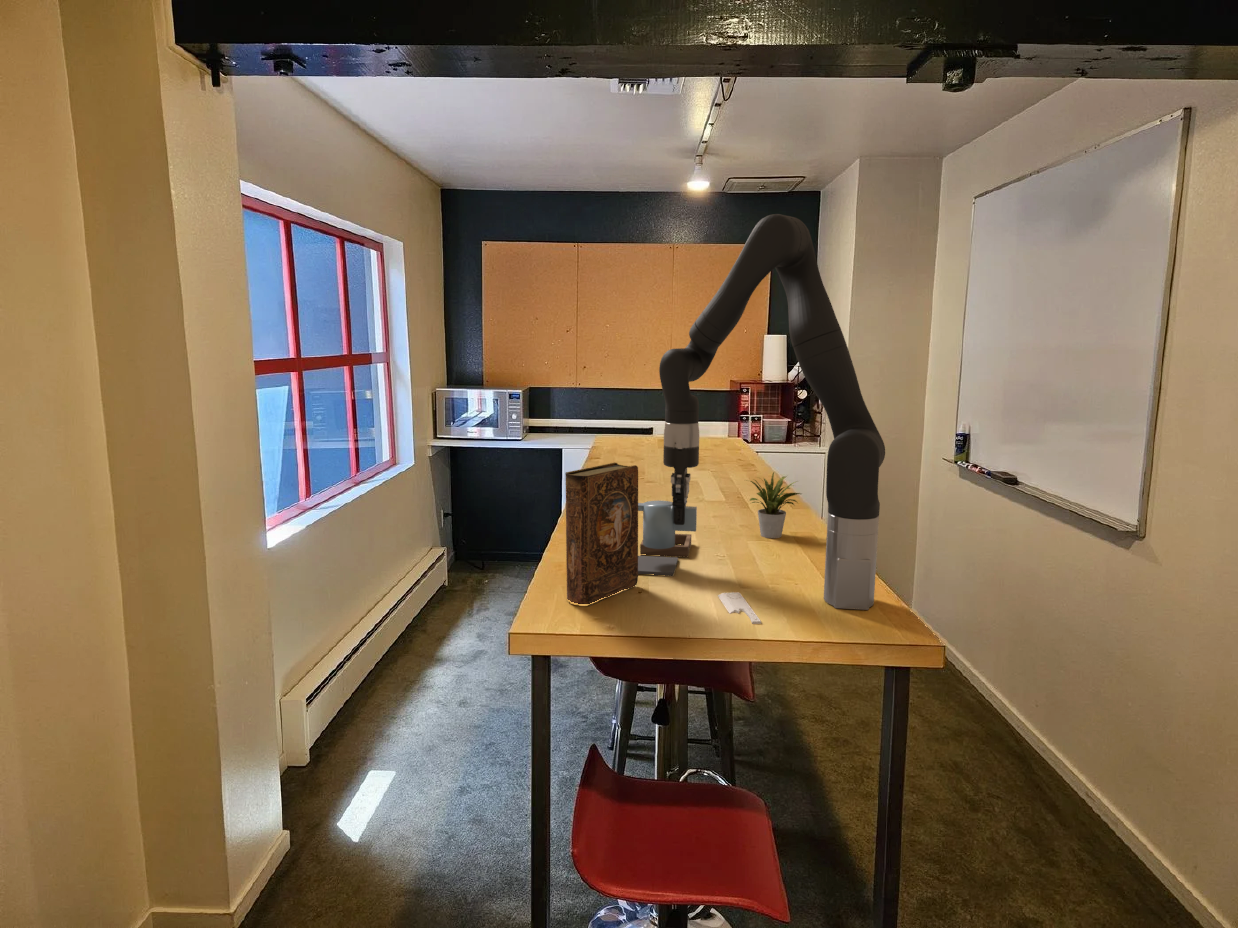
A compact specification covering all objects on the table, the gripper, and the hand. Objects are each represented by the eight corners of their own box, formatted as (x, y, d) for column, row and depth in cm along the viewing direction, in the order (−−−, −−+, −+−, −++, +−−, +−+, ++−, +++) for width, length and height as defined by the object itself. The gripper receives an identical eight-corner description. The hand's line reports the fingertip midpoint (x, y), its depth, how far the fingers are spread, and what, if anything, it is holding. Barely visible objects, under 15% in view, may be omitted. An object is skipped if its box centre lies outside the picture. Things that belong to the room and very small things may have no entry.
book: (583, 608, 141) (582, 476, 137) (562, 601, 144) (561, 473, 140) (638, 585, 153) (638, 464, 149) (617, 580, 157) (617, 461, 153)
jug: (634, 547, 162) (635, 506, 160) (639, 539, 169) (639, 499, 167) (694, 550, 160) (695, 509, 158) (696, 541, 166) (697, 501, 165)
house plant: (753, 545, 182) (755, 479, 179) (730, 531, 195) (731, 469, 192) (806, 541, 186) (809, 476, 183) (780, 527, 199) (782, 466, 196)
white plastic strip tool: (733, 626, 133) (733, 620, 133) (714, 597, 148) (714, 592, 148) (761, 625, 134) (761, 619, 133) (740, 596, 148) (740, 591, 148)
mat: (673, 576, 159) (673, 572, 159) (622, 573, 161) (622, 569, 161) (678, 560, 170) (678, 557, 170) (629, 558, 172) (629, 555, 172)
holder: (687, 557, 173) (688, 546, 172) (640, 555, 174) (640, 544, 174) (691, 544, 183) (691, 534, 183) (646, 542, 185) (646, 532, 185)
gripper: (667, 438, 167) (665, 514, 170) (660, 447, 154) (658, 530, 157) (701, 439, 166) (699, 516, 169) (697, 449, 152) (695, 532, 155)
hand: (679, 522), depth 163 cm, fingers closed on jug
